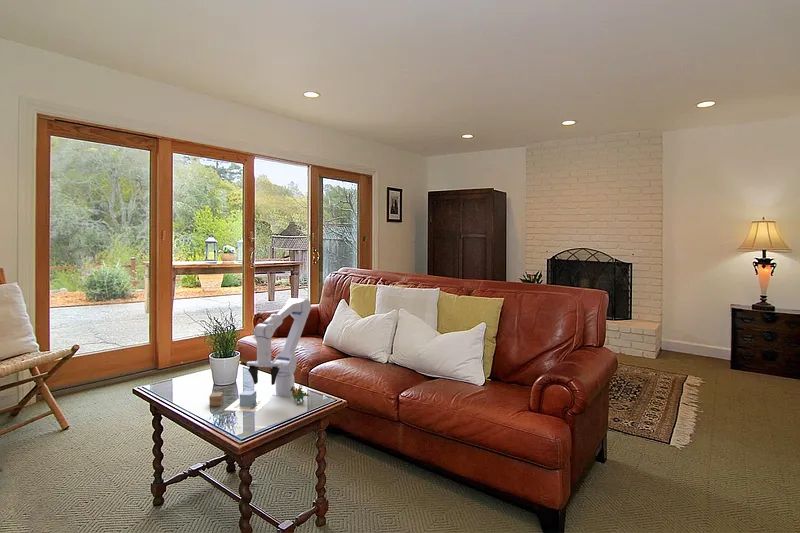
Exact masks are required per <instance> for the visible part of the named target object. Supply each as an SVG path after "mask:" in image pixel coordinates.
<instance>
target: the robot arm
mask: <svg viewBox="0 0 800 533" xmlns="http://www.w3.org/2000/svg"><path fill="white" fill-rule="evenodd" d="M285 302H286V303H285V305H284V306H283V307H282V308H281V309H280V310H279V311H278V312H277V313H271V314H270V316H269V317H268V318H267V319H265V320H264V321H263V322H262V323H258V324H256V326H254V329H253V336H254V338H255V342H256V360H254V361H253V360H251V361H249V360H248V361H247V362H246V367H247V368H248V369H247V370H248V372H249V374H250V376H251V378H252V381H253V384H254V385H257V384H258V380H259V378H258V377H259V368H270V370H269V371H270V376H271V377H270V378H271V385H272V386H273V385H275V392H274V393H273V394H272V397H275V396H276V397H291V396H290V395H292V391H290V390H291V387H294V386H295V374H294V373H295V372H296V369H297V363H298V359H297V357H296V356H295V352H296V351H297V347H298V344H299V341H300V339H301V336H302V334H303V331H304V328H305V325H306V323H307V319H308V317H309V314H310V312H311V310H312V306H311V301H310V300H309V299H308V298H293V297H291V298H288V299H287V301H285ZM289 315H290V316H291V317H292V318H293V323H292V324H291V327H290V330H289V333H288V335H287V338H286V342H284V343H285V344H284V346H283V348H282V351H280V352H279V353H277V354H276V356H275V358H274V359H273V360H272V337H273V336H274V334H275V332H276V330H277V329H278V327H280V326H281V325H283V321H284V319H285V318H287V317H288V316H289ZM293 389H294V388H293ZM294 390H295V391H296V388H295V389H294Z"/></svg>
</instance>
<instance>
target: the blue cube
mask: <svg viewBox="0 0 800 533" xmlns="http://www.w3.org/2000/svg"><path fill="white" fill-rule="evenodd" d="M239 398H240V406H242V407H252V406H253V405H254V404H255V403H256V398H257V390H247V389H245V390H243V391H242V392H241V393H239Z"/></svg>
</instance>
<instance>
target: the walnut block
mask: <svg viewBox="0 0 800 533" xmlns="http://www.w3.org/2000/svg"><path fill="white" fill-rule="evenodd" d="M208 398H209V399H208V400H209V407H216V406H222V404H223V402H224V392H222V391H220V392H218V391H217V392H211V394H210V395H209V397H208Z"/></svg>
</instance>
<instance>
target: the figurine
mask: <svg viewBox="0 0 800 533" xmlns="http://www.w3.org/2000/svg"><path fill="white" fill-rule="evenodd" d="M293 388H294V389H296V390H294V389H293ZM290 391H292V394H291V395H290V396H289V397H292V398H293V399H294V400H293V401H294V403H296V402H298V403H297V405H300V406H301V404H304V397H311V395H309V393H307V392H306V391H304V390H303V386H302V385H301V384H300V385H299V386H298V388H297V387H296V386H295V385H294V387H291V390H290Z"/></svg>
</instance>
